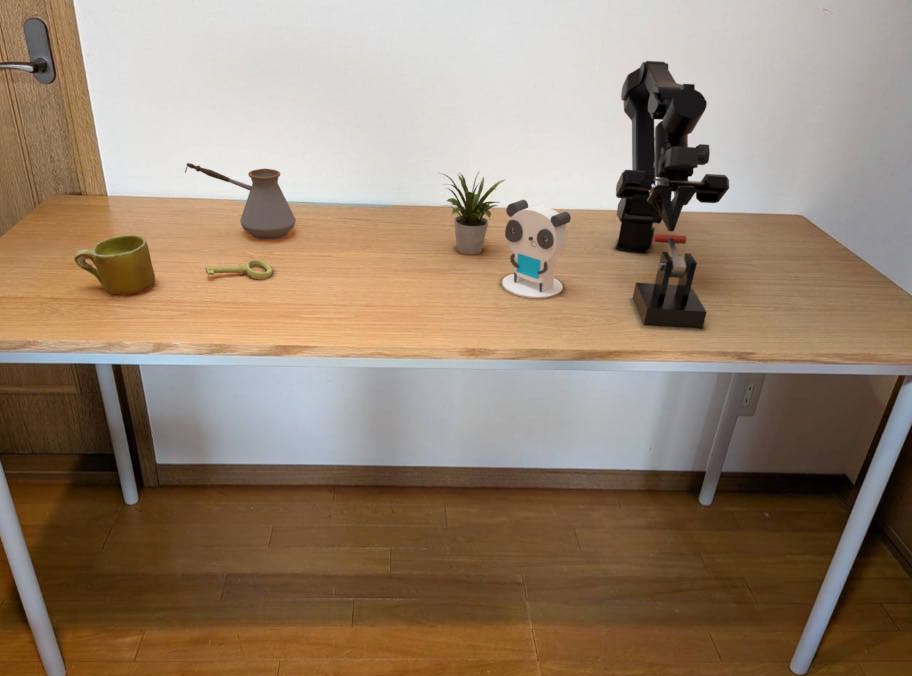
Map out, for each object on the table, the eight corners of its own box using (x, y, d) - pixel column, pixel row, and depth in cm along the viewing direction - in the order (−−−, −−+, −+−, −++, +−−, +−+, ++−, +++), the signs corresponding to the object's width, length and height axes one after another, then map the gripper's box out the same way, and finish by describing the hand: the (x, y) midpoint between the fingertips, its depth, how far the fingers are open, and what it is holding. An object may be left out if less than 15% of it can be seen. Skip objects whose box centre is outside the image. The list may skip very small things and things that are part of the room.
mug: (170, 264, 138) (145, 220, 130) (157, 302, 132) (130, 258, 124) (108, 272, 140) (80, 230, 132) (93, 310, 133) (63, 268, 126)
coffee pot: (296, 224, 164) (291, 154, 156) (296, 243, 155) (292, 170, 147) (196, 226, 161) (186, 155, 153) (190, 245, 152) (180, 170, 144)
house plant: (418, 254, 152) (420, 174, 143) (442, 233, 163) (446, 157, 154) (484, 267, 148) (491, 185, 139) (505, 244, 159) (512, 167, 150)
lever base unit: (632, 300, 137) (643, 243, 132) (686, 303, 137) (700, 247, 131) (643, 326, 128) (656, 267, 122) (701, 330, 128) (717, 271, 122)
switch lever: (652, 241, 134) (655, 230, 133) (682, 242, 134) (686, 231, 133) (660, 276, 128) (663, 265, 126) (692, 278, 128) (696, 267, 126)
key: (202, 277, 138) (201, 266, 137) (261, 263, 145) (261, 253, 144) (220, 290, 134) (219, 279, 133) (280, 275, 141) (280, 265, 140)
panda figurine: (487, 283, 141) (494, 205, 133) (523, 268, 148) (531, 193, 140) (538, 303, 134) (549, 223, 126) (574, 286, 141) (586, 209, 133)
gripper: (631, 122, 128) (630, 205, 125) (740, 128, 127) (742, 212, 124) (615, 157, 139) (614, 234, 135) (716, 162, 138) (718, 240, 135)
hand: (671, 230), depth 132 cm, fingers closed
